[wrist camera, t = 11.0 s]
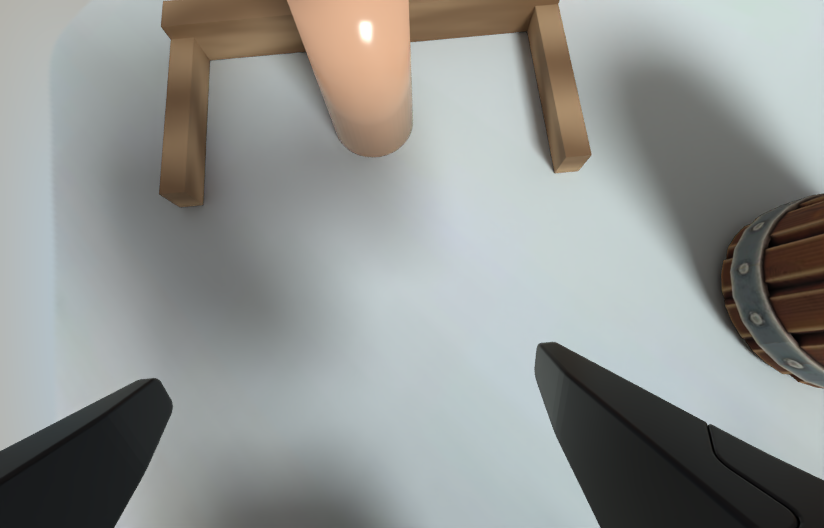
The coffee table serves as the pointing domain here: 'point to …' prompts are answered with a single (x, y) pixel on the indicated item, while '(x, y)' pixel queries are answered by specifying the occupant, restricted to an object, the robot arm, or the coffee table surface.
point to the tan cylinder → (361, 68)
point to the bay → (277, 34)
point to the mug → (781, 288)
